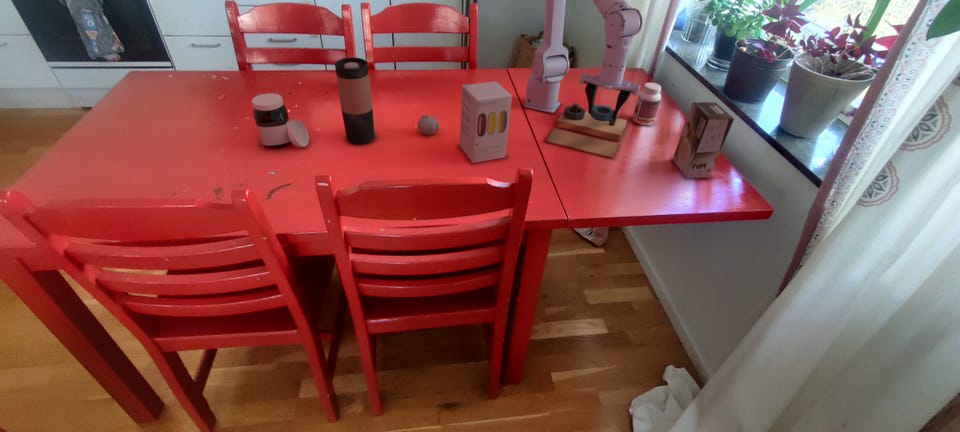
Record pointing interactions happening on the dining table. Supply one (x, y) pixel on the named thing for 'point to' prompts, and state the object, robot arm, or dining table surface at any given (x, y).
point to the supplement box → (484, 121)
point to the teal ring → (602, 113)
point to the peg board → (593, 125)
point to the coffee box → (702, 139)
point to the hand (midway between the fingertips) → (602, 115)
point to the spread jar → (277, 123)
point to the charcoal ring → (572, 115)
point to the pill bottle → (647, 104)
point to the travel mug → (355, 99)
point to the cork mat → (582, 143)
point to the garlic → (428, 125)
